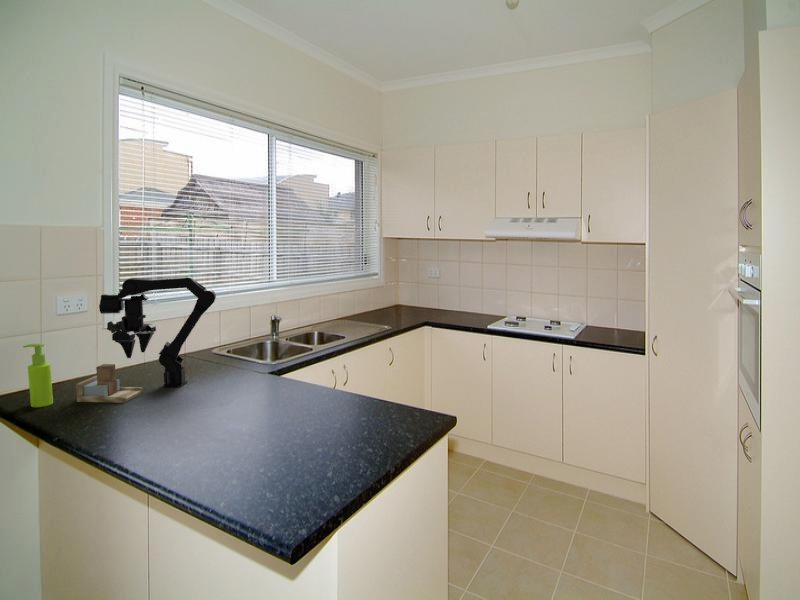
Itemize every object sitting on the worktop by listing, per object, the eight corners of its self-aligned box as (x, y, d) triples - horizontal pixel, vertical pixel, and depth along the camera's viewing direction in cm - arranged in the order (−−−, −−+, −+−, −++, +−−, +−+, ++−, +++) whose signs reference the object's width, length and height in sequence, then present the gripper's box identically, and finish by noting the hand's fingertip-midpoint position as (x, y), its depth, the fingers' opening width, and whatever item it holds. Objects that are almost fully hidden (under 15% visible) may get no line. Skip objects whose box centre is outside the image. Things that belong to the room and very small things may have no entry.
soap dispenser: (35, 401, 160) (30, 342, 157) (57, 401, 160) (52, 342, 158) (23, 407, 154) (18, 346, 151) (45, 407, 154) (41, 346, 152)
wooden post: (105, 392, 167) (103, 364, 166) (116, 392, 167) (115, 364, 166) (98, 395, 163) (96, 367, 162) (109, 395, 163) (108, 367, 162)
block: (120, 389, 170) (119, 379, 169) (105, 397, 161) (104, 386, 161) (100, 389, 170) (99, 378, 169) (84, 396, 161) (83, 386, 161)
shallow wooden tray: (142, 392, 171) (141, 375, 170) (124, 402, 160) (123, 385, 159) (97, 391, 171) (96, 375, 170) (77, 401, 160) (75, 384, 159)
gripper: (126, 308, 183) (128, 349, 185) (95, 316, 164) (98, 361, 166) (155, 309, 183) (157, 349, 185) (127, 317, 164) (130, 361, 166)
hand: (136, 355), depth 175 cm, fingers open, 9 cm apart
